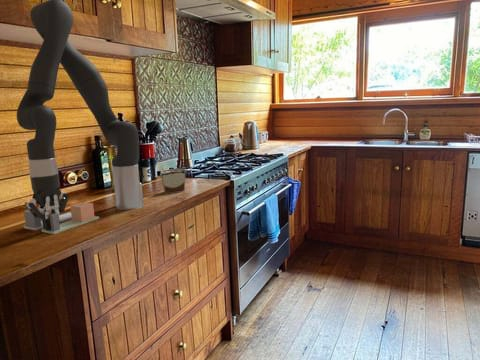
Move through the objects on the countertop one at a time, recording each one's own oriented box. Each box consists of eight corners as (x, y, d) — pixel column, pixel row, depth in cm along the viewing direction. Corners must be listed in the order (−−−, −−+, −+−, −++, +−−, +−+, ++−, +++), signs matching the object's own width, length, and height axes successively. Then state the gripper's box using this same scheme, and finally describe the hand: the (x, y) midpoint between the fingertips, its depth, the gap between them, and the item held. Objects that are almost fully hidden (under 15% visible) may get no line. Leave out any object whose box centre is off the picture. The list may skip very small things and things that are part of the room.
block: (84, 216, 127) (82, 202, 126) (94, 217, 125) (93, 203, 124) (72, 220, 123) (70, 205, 122) (82, 222, 120) (80, 207, 119)
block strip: (87, 216, 129) (85, 200, 127) (99, 218, 126) (97, 202, 125) (41, 231, 114) (39, 214, 113) (54, 234, 111) (51, 216, 110)
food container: (182, 188, 175) (180, 167, 173) (187, 190, 170) (186, 169, 168) (157, 192, 168) (155, 170, 166) (162, 194, 163) (160, 172, 161)
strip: (70, 213, 133) (68, 198, 132) (81, 215, 130) (79, 200, 129) (23, 228, 118) (21, 211, 117) (35, 230, 115) (32, 213, 114)
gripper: (57, 169, 118) (63, 220, 121) (13, 176, 106) (22, 234, 109) (72, 170, 114) (79, 223, 118) (29, 178, 103) (38, 237, 106)
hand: (51, 228), depth 114 cm, fingers closed on block strip, 2 cm apart
